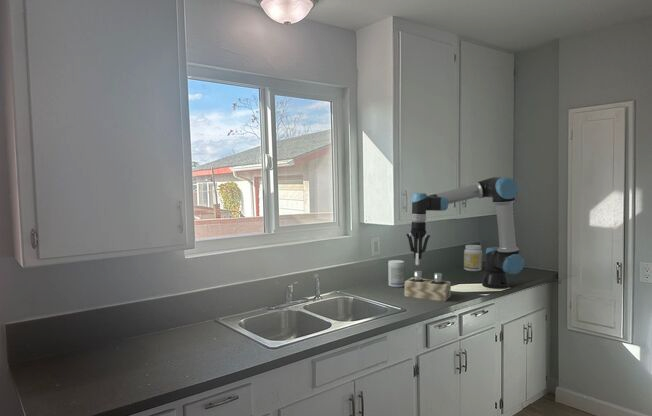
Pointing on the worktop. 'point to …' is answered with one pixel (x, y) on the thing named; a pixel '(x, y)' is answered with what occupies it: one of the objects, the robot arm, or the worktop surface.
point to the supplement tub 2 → (473, 258)
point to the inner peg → (438, 278)
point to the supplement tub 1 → (396, 273)
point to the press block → (427, 289)
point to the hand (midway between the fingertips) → (417, 264)
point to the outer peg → (418, 276)
